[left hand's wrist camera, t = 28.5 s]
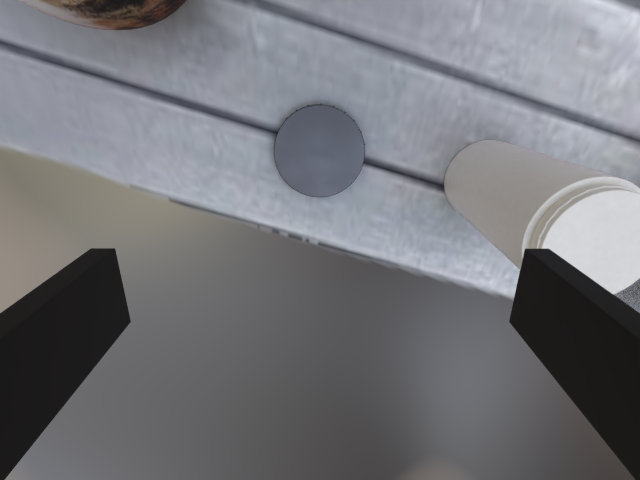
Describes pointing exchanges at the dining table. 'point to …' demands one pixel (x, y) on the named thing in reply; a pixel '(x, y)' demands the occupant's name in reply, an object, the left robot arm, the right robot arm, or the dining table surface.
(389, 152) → the dining table surface
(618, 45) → the dining table surface
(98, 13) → the cat face balloon
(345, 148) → the lid
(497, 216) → the jar
